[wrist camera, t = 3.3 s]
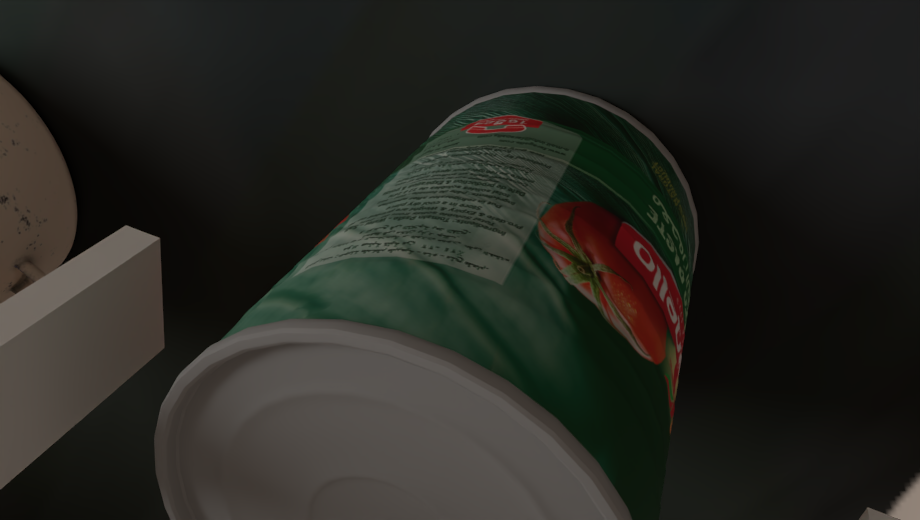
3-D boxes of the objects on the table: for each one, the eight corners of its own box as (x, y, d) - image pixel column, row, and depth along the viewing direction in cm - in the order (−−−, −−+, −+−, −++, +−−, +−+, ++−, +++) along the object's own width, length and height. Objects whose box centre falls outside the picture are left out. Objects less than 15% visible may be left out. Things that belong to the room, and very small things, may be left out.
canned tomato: (354, 177, 22) (62, 431, 13) (590, 20, 18) (411, 228, 8) (511, 389, 23) (354, 746, 14) (759, 291, 19) (759, 702, 10)
